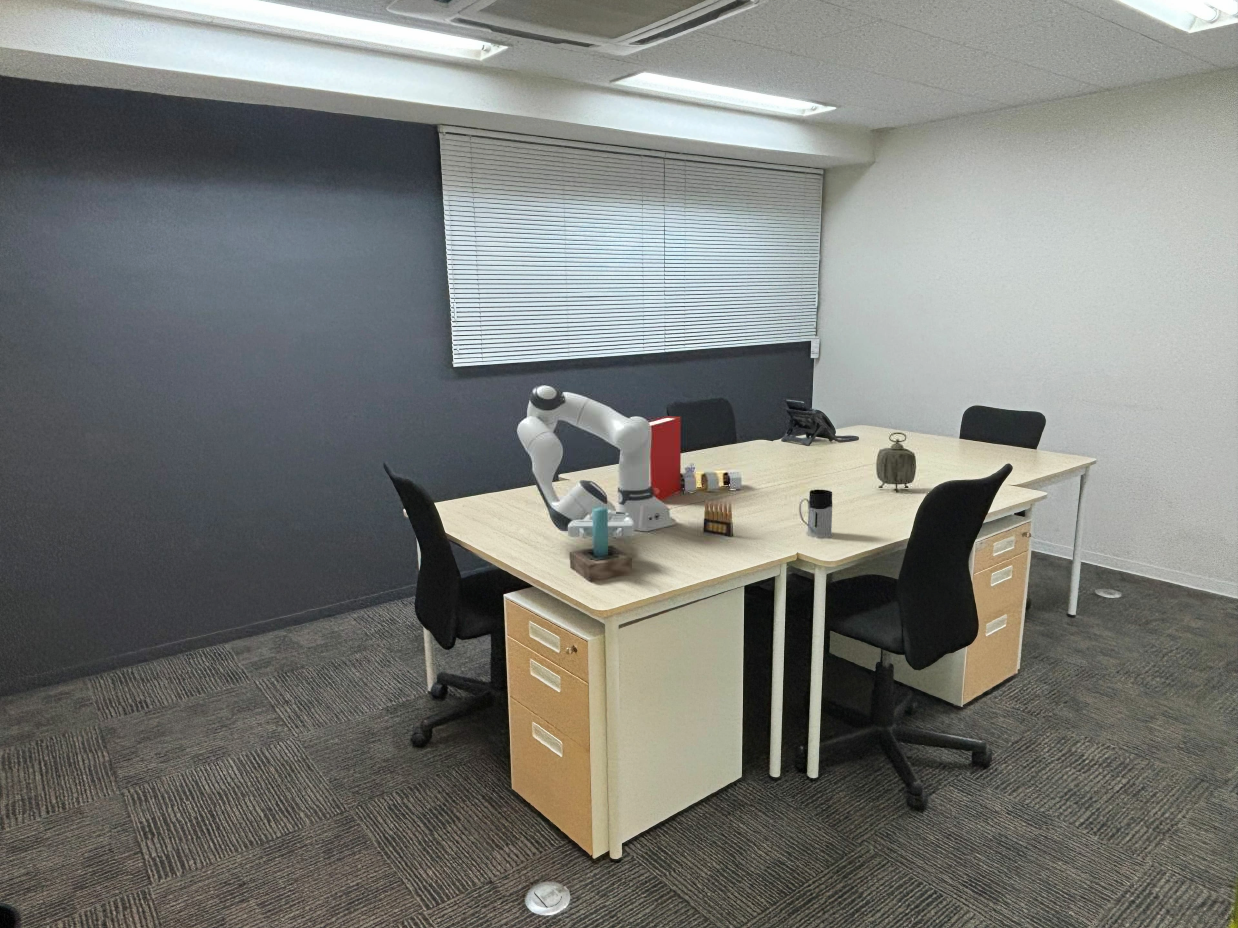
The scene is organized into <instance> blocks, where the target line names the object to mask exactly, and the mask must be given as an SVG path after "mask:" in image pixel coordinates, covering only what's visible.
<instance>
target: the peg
mask: <svg viewBox="0 0 1238 928" xmlns="http://www.w3.org/2000/svg"><path fill="white" fill-rule="evenodd" d="M592 543H593V544H592V545H593V547H592V548H593V556H594V557H595V558H599V557H605V556H608V546H609V536H608V514H607V508H603V507H598V508H593V537H592Z"/></svg>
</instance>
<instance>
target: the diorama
mask: <svg viewBox="0 0 1238 928" xmlns="http://www.w3.org/2000/svg"><path fill="white" fill-rule="evenodd" d="M695 469H696V467H695V464H694V463H693V462H692V463H689V466H687V467H684V471H685V472H681V488H685V489H684V494H688V493H687V492H697V489H698V488H697V487H708V488H706V489H707V490H706V492H707V491H714V492H719V489H720V487H719V486H721V485H729V484H730V486H729V490H730V489H740V490H741V489H742V475H741V473H740V471H738V469H731V470H729V469H728V470H713V471H696V472H695Z"/></svg>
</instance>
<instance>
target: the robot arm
mask: <svg viewBox="0 0 1238 928" xmlns="http://www.w3.org/2000/svg"><path fill="white" fill-rule="evenodd" d="M526 412H527V413H526V417H525V418H524V419H522V420H521V421H520V422H519V424H518V425H517V428H516V432H517V433H516V434H517V436H518V438H519V441H520V442H521V444H522V446H523V448H524V449H525V451H526V452H527V454H528V455H529V456H530V459H531V464H532V466H531V467H532V468H531V477H532V480H533V481H534V484H535V486H536V488H537V490H538V492H539V494H540V496H541V499H542V501H543V503H544V505H545V507H546V509H547V512H548V514H549V518H550V520H551V522H552V523H553V526H555V527H556V528H557V529H558V530H559V531H561V532H567V536H569V537H572V538H574V537H575V538H581V539H587V538H588V537H590V538H591V537H592V538H593V508H598V507H603V508H607V514H608V537H613V539H619V538H620V537H633V536H635V531H637V532H638V531H639V532H649V531H655V530H657V529H663V528H666V527H671V526H675V525H677V520H676V519H675V518H674V517H672V516H671V512H670V509H669V507H668V506H667V504H666V503H664V502H662V500H659V499H657V498H656V497H654V494H653V493H655V494H658V493H659V491H658V489H657V488H652V487H650V486H649V464H650V452H651V432H652V431H651V426H650V424H649V422H648V419H646V418H644V417H641V416H631V417H626V416H625V415H623V414H621V413H619V412H617V411H616V410H614V409H613V408H612V407H611V406H609V405H608V406H607V405H605V404H603V403H601V402H598V401H596V400H594V399H591V398H589V397H586V396H584V395H581V394H577V393H574V392H569V391H564V392H562V391H561V390H559V389H558V388H556V387H554V386H553V385H549V384H540V385H536V386H535V387H534V388H533V389H532V391H531V393H530V396H529V402H528V405H527V409H526ZM558 421H565V422H567V423H569V424H570V425H573V426H575V427H577V428H579V429H581V430H584V431H586V432H588V433H591V434H593V435H595V436H598V437H599V438H601V439H603V440H604V441H605V442H607V443H609V444H611V445H612V446H614V447H616V448H618V450H620V452H619V460H618V461H619V462H618V487H617V503H618V504H617V505H618V507H617V508H616V506H615V505H614V504H613V503H612V502H611V501H610V500H608V497H607V493H606V492H605V491H604V490H603V489H602V487H601V486H599V485H598V484H597V483H595V482H594V481H591V480H585V479H583V480H581V479H580V480H579V481H578V482H577V483H576V484H575V485H574V486H573V487H572V488H571V489H570V490H569V491H568V492H567V493H566V494H565V495H564V496H563V497H562V498H561V499H560V498H559V497H558V494H557V492H556V491H555V489H554V486H553V478H554V475H555V474H556V471H557V469H558V468H559V466H560V463H561V461H562V459H563V455H564V447H563V445H562V443H561V440H560V439H559V438H558V436H557V435H556V434H555V432H556V428H557V427H556V426H557V423H558ZM587 516H589V517H588V519H585V518H586V517H587Z"/></svg>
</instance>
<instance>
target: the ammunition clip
mask: <svg viewBox="0 0 1238 928" xmlns="http://www.w3.org/2000/svg"><path fill="white" fill-rule="evenodd" d="M732 510H733V509H732V502H731V501H729V502H728V504H727V502H726V501H724V502H723V503H722V500H720V501H719V503H718V500H715V501H714V502H713V499H710V501H709V500H708V499H707V498H706V500H705V504H704V510H703V511H704V512H703V513H704V516H703V517H704V518H703V527H702V532H703V533H704V534H709V535H717V536H722V537H729V538H732V537H733V536H734V528H733V527H734V526H733V525H734V523H733V513H732V512H733V511H732Z"/></svg>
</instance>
